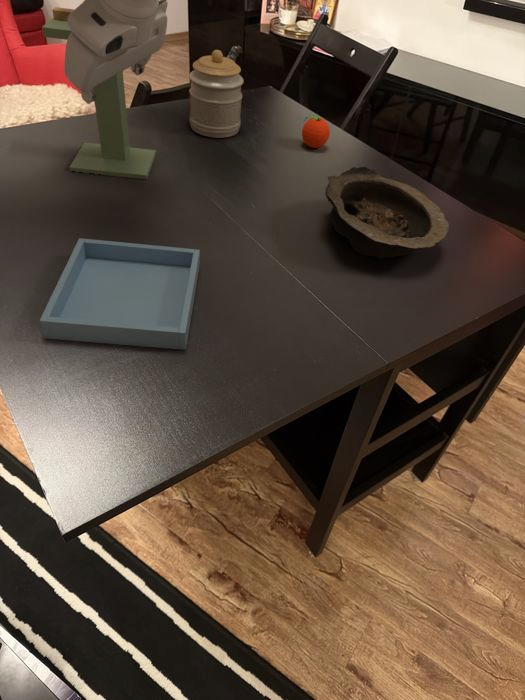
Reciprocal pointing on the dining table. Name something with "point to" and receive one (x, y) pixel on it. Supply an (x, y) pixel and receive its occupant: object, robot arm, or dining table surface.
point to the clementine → (315, 132)
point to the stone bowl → (382, 214)
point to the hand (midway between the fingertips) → (113, 85)
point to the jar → (215, 96)
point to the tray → (124, 295)
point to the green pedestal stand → (107, 127)
